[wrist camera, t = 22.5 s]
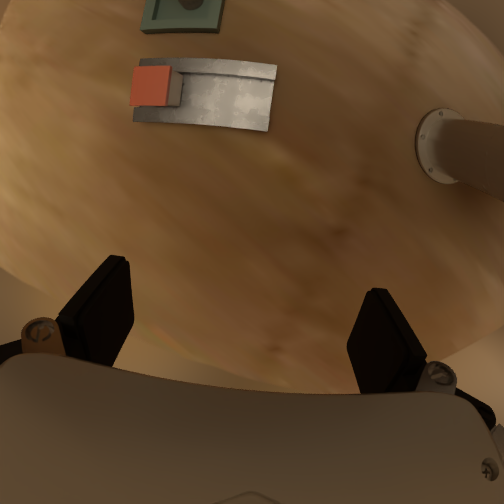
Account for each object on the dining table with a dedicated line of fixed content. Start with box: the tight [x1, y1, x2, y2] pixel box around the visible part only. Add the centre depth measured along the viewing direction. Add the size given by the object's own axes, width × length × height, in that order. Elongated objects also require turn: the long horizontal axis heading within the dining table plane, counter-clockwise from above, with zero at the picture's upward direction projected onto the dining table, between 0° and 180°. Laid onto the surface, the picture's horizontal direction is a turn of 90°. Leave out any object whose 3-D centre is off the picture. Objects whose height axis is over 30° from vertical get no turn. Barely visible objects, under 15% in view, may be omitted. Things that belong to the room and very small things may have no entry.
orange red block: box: [130, 66, 183, 106], centre depth 31 cm, size 4×5×7 cm
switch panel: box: [133, 58, 277, 132], centre depth 35 cm, size 18×9×4 cm, turn 83°
